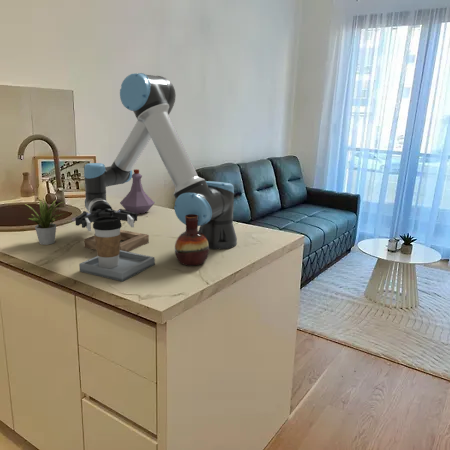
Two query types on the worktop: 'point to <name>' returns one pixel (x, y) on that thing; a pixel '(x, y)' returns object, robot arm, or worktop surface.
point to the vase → (191, 243)
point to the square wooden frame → (129, 244)
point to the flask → (137, 197)
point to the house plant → (45, 223)
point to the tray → (119, 266)
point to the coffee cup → (107, 240)
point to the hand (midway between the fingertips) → (111, 225)
